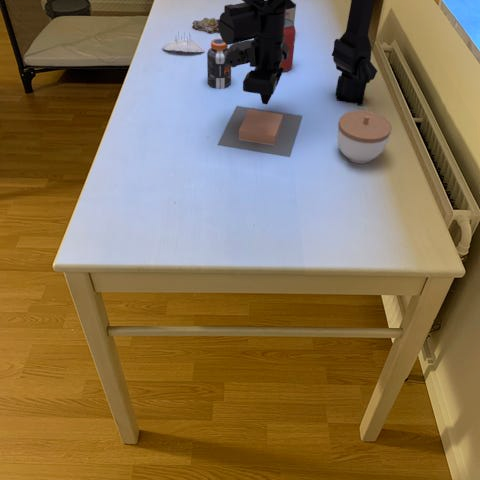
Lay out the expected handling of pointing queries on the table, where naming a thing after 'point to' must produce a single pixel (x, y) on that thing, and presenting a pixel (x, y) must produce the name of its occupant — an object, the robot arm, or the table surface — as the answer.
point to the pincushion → (183, 45)
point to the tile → (260, 127)
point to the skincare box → (290, 13)
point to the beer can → (289, 43)
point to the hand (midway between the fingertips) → (265, 103)
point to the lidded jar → (362, 135)
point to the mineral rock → (207, 25)
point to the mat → (280, 148)
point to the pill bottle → (218, 65)
